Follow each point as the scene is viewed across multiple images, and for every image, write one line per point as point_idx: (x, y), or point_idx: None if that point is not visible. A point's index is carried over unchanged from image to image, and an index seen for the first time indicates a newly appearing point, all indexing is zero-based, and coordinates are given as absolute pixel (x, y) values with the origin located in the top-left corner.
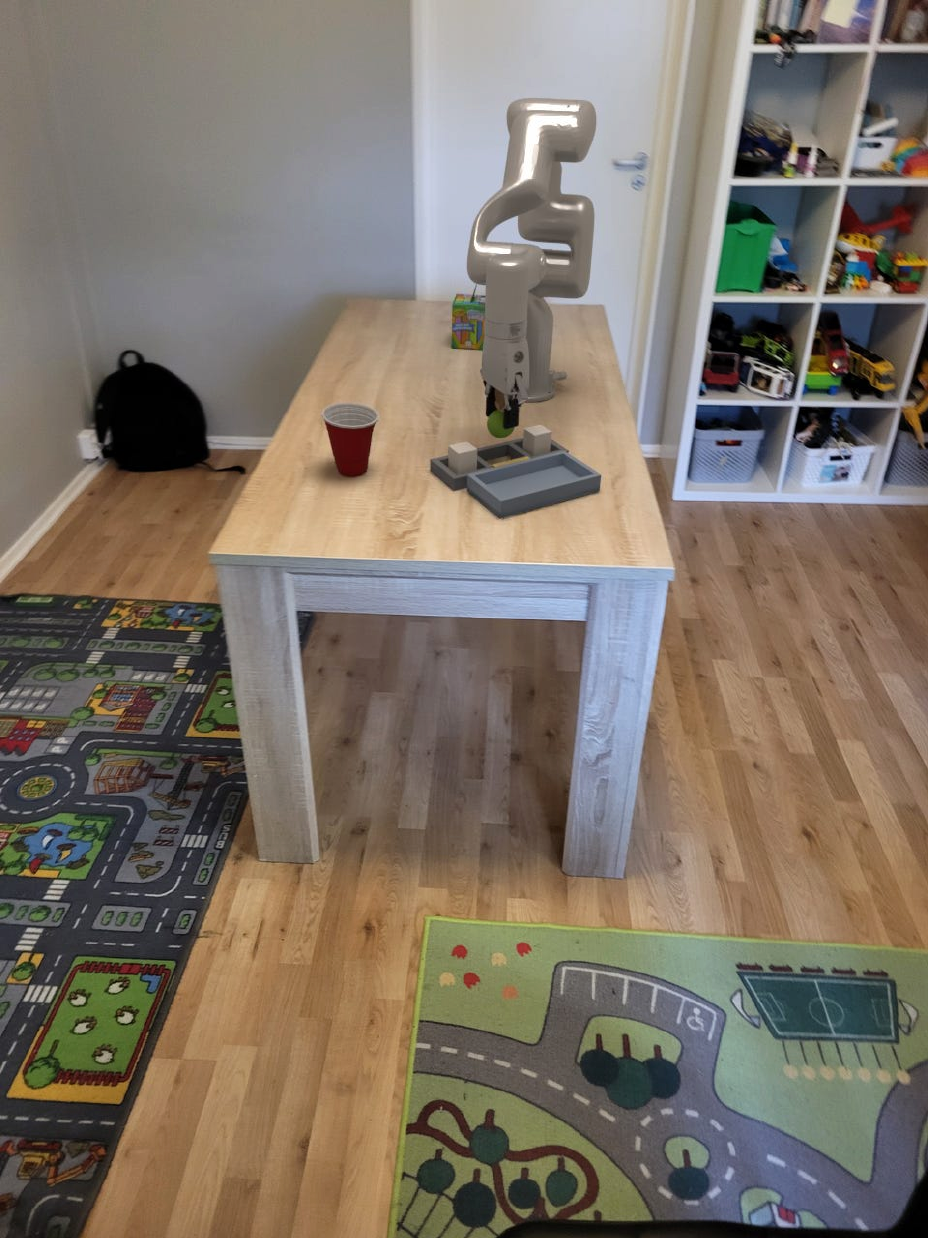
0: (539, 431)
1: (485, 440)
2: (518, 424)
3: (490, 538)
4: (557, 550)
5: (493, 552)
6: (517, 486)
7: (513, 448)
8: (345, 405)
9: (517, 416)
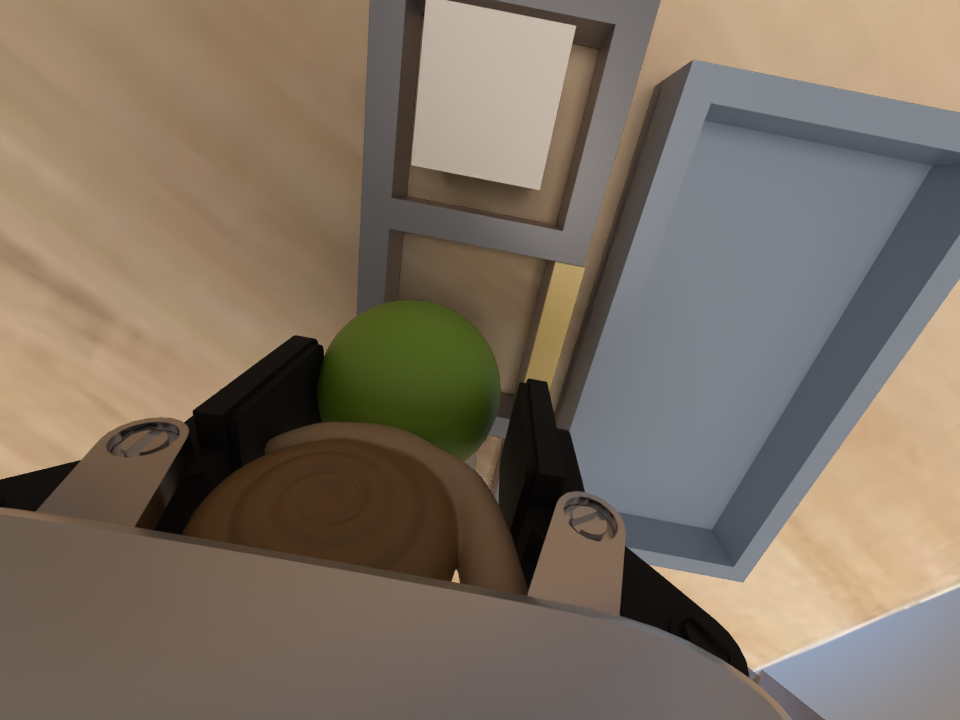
0: (513, 107)
1: (230, 193)
2: (547, 384)
3: (752, 595)
4: (954, 539)
5: (797, 623)
6: (650, 407)
7: (437, 237)
8: None
9: (576, 462)
